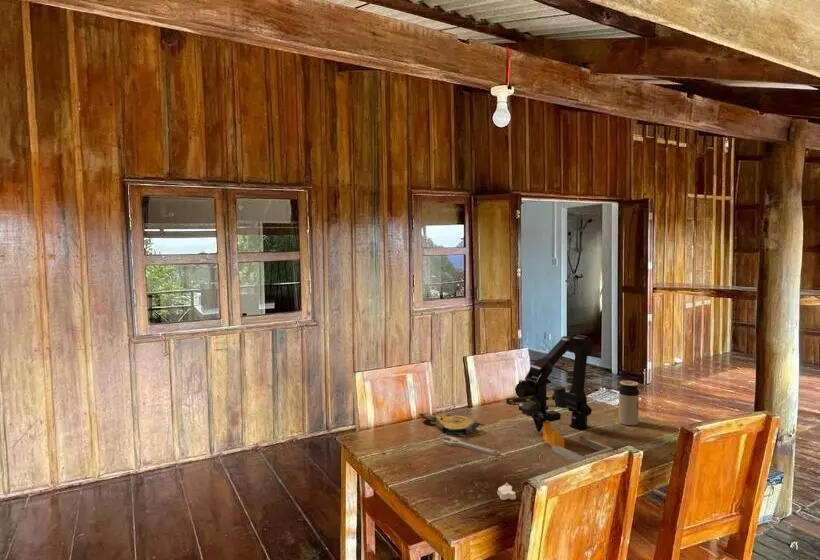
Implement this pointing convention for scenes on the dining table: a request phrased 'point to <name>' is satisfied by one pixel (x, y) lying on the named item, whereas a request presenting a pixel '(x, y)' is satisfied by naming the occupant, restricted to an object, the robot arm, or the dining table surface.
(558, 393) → the mallet
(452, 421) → the pulley block
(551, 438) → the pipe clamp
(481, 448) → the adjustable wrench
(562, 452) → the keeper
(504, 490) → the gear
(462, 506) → the dining table surface
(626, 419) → the travel mug
